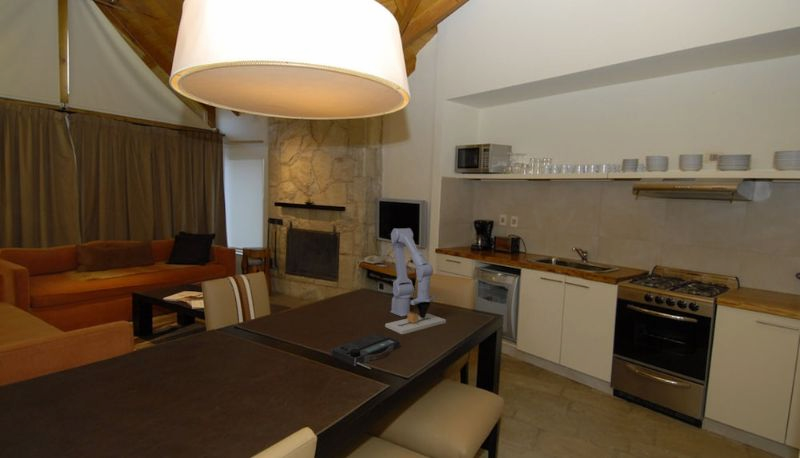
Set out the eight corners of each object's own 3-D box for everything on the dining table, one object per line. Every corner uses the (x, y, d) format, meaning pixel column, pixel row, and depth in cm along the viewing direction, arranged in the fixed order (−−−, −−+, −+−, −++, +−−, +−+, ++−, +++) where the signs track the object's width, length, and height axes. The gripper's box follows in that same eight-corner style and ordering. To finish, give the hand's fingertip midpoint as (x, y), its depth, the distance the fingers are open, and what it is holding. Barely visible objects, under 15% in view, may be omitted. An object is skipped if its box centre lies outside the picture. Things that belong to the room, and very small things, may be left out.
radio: (376, 329, 171) (413, 342, 158) (376, 339, 172) (413, 353, 159) (330, 345, 152) (368, 361, 139) (330, 356, 153) (368, 373, 140)
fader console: (385, 326, 187) (385, 323, 187) (428, 316, 205) (428, 313, 205) (402, 334, 178) (402, 330, 178) (445, 322, 196) (445, 319, 196)
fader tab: (407, 320, 190) (407, 312, 190) (412, 319, 192) (412, 311, 192) (413, 323, 187) (413, 314, 187) (417, 321, 189) (418, 313, 189)
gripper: (418, 293, 185) (417, 322, 186) (440, 289, 194) (439, 316, 195) (408, 290, 190) (407, 318, 191) (430, 286, 200) (428, 313, 201)
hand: (422, 317), depth 194 cm, fingers closed
